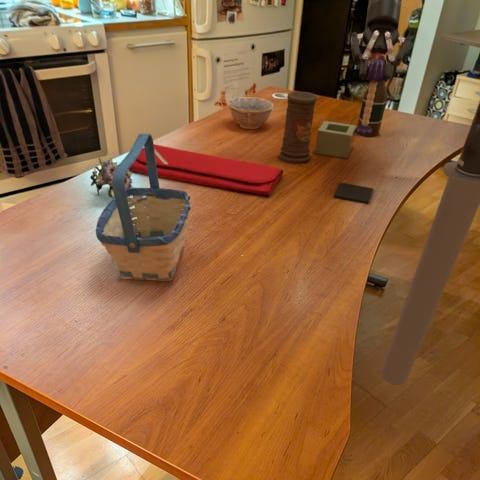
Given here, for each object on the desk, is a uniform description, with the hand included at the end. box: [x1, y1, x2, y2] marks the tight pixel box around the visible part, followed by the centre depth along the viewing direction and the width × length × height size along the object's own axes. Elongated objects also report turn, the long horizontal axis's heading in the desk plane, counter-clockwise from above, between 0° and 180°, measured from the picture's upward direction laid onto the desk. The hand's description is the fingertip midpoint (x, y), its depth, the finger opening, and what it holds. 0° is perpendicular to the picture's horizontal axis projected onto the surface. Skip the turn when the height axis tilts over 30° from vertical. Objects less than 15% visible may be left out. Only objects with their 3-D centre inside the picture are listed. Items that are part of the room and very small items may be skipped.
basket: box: [95, 133, 192, 282], centre depth 86 cm, size 21×16×24 cm
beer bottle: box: [356, 55, 388, 137], centre depth 155 cm, size 8×8×24 cm
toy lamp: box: [355, 58, 385, 137], centre depth 112 cm, size 5×5×17 cm
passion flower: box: [89, 157, 134, 199], centre depth 114 cm, size 11×11×12 cm
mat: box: [333, 182, 374, 205], centre depth 124 cm, size 9×9×1 cm
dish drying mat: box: [128, 143, 284, 196], centre depth 128 cm, size 16×41×4 cm, turn 72°
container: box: [279, 91, 318, 164], centre depth 136 cm, size 9×9×18 cm
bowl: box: [227, 96, 275, 130], centre depth 160 cm, size 16×16×8 cm
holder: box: [314, 120, 357, 159], centre depth 146 cm, size 10×10×7 cm
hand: (375, 78), depth 107 cm, fingers closed on toy lamp, 4 cm apart
